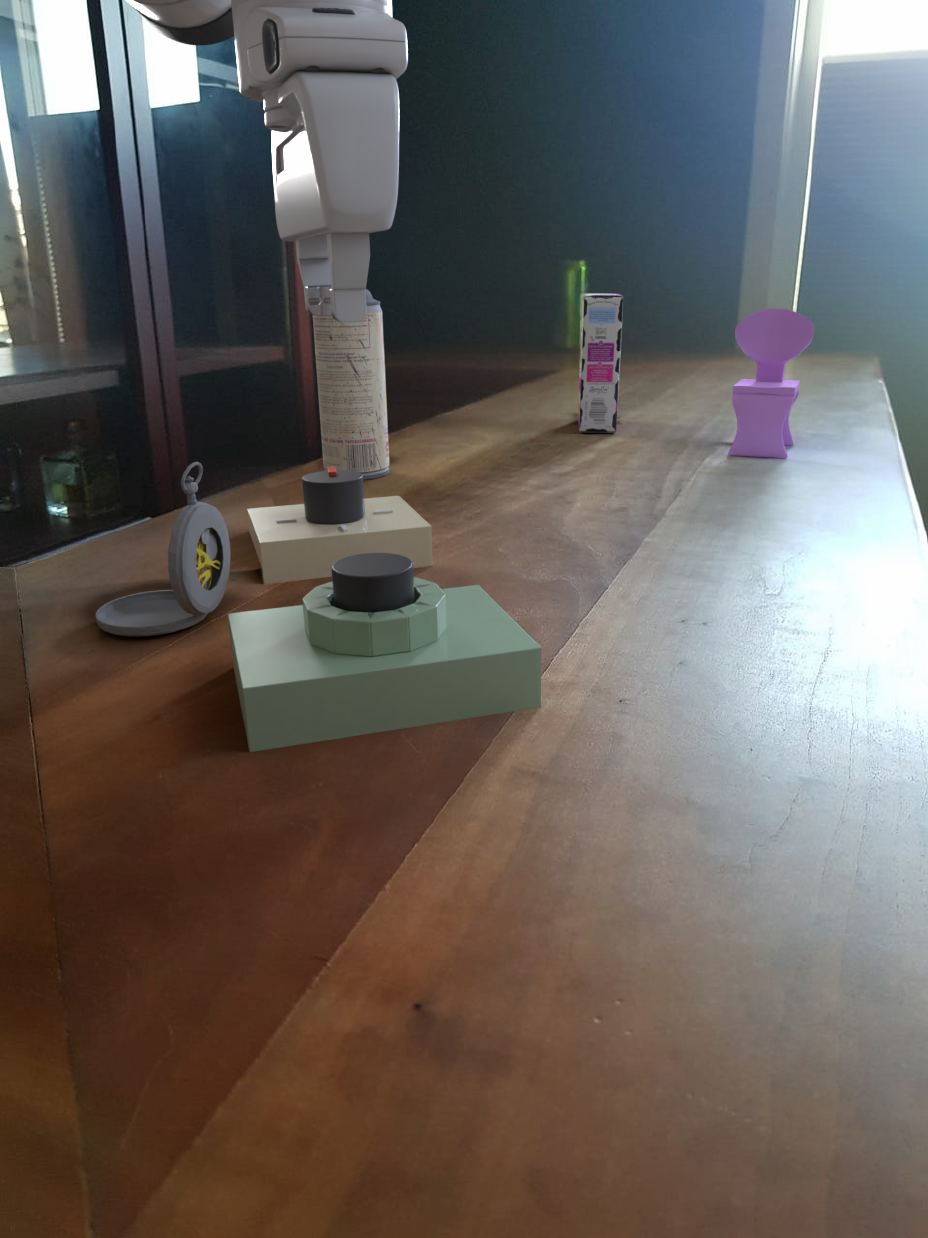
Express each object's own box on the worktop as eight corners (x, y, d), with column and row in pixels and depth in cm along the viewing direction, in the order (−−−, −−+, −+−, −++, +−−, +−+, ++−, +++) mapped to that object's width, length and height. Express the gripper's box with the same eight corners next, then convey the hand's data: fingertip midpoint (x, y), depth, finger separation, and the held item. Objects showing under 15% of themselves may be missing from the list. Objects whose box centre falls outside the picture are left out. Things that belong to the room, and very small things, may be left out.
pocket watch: (94, 614, 60) (68, 456, 56) (228, 594, 63) (211, 444, 59) (103, 660, 53) (74, 483, 49) (253, 635, 56) (236, 467, 52)
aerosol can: (403, 471, 99) (395, 267, 92) (353, 483, 94) (340, 269, 87) (360, 463, 103) (349, 268, 96) (310, 474, 99) (295, 269, 91)
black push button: (341, 621, 45) (339, 580, 44) (328, 595, 48) (325, 556, 48) (423, 611, 46) (421, 571, 45) (404, 586, 49) (402, 548, 49)
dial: (367, 522, 68) (364, 476, 67) (305, 525, 67) (302, 480, 66) (363, 507, 72) (360, 464, 71) (304, 510, 71) (301, 467, 70)
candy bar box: (618, 433, 118) (624, 294, 112) (578, 433, 118) (582, 295, 112) (614, 419, 128) (619, 291, 122) (577, 419, 129) (580, 292, 123)
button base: (249, 753, 42) (238, 650, 41) (233, 668, 51) (223, 581, 50) (541, 708, 46) (542, 612, 44) (478, 636, 55) (477, 554, 53)
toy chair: (717, 455, 104) (728, 311, 99) (729, 441, 111) (739, 307, 106) (797, 459, 101) (812, 311, 96) (803, 445, 108) (818, 307, 103)
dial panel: (263, 584, 65) (259, 540, 64) (250, 546, 74) (246, 506, 73) (432, 566, 68) (431, 523, 67) (400, 531, 77) (399, 493, 76)
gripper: (242, 90, 62) (263, 313, 67) (284, 14, 43) (308, 329, 48) (337, 93, 63) (351, 309, 68) (416, 21, 45) (427, 323, 50)
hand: (334, 318), depth 58 cm, fingers open, 8 cm apart
